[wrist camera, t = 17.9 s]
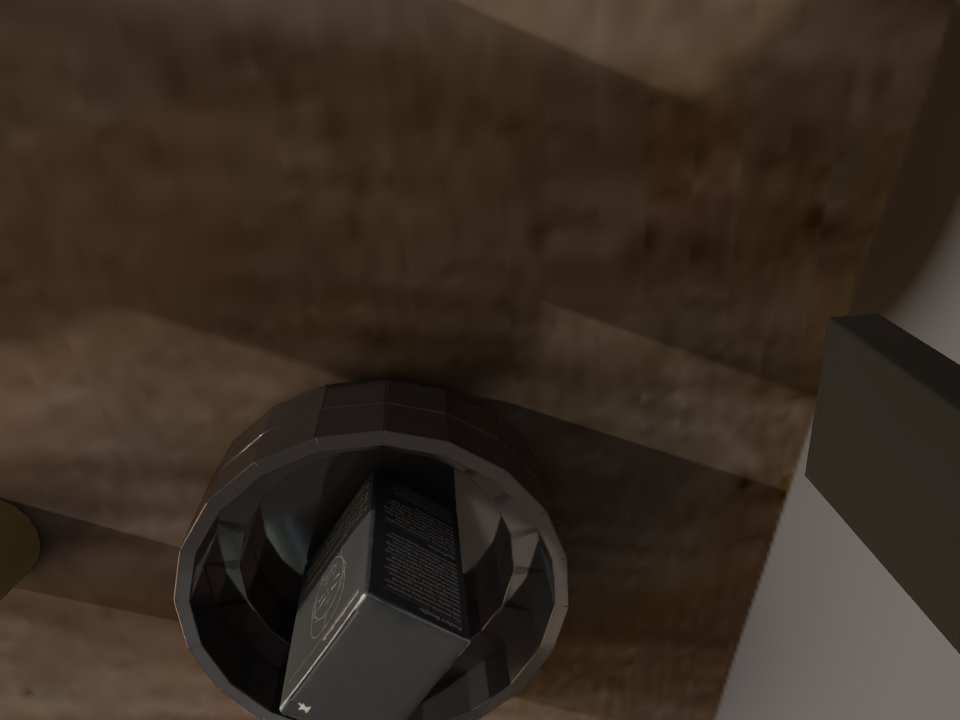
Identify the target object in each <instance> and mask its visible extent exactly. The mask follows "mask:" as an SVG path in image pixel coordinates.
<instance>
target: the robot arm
mask: <svg viewBox="0 0 960 720" xmlns="http://www.w3.org/2000/svg"><path fill="white" fill-rule="evenodd" d="M805 476H806V477H807V478H808V479H809V480H810V482H811V483H812V484H813V485H814V486H815V487H816V488H817V490H818V491H819V492H820V493H821V494H822V495H823V496H824V498H825V499H826V500H827V501H828V502H829V503H830V505H831V506H832V507H833V508H834V509H835V510H836V512H837V513H838V514H839V515H840V516H841V517H842V518H843V520H844V521H845V522H846V523H847V524H848V525H849V526H850V528H851V529H852V530H853V531H854V532H855V533H856V535H857V536H858V537H859V538H860V539H861V540H862V541H863V543H864V544H865V545H866V546H867V547H868V548H869V549H870V551H871V552H872V553H873V554H874V555H875V556H876V558H877V559H878V560H879V561H880V562H881V564H882V565H883V566H884V567H885V568H886V569H887V570H888V572H889V573H890V574H891V575H892V576H893V577H894V578H895V580H896V581H897V582H898V583H899V584H900V585H901V587H902V588H903V589H904V590H905V591H906V592H907V593H908V595H909V596H910V597H911V598H912V599H913V600H914V602H915V603H916V604H917V605H918V606H919V607H920V609H922V611H923V612H924V613H925V614H926V615H927V617H928V618H929V619H930V620H931V621H932V622H933V624H934V625H935V626H936V627H937V628H938V629H939V630H940V632H941V633H942V634H943V635H944V636H945V637H946V638H947V640H948V641H949V642H950V643H951V644H952V645H953V647H954V648H955V649H956V650H957V651H958V652H959V654H960V365H959V364H957V363H956V362H954V361H952V360H951V359H949V358H947V357H946V356H944V355H943V354H941V353H940V352H938V351H937V350H935V349H933V348H932V347H930V346H929V345H927V344H925V343H924V342H922V341H921V340H919V339H917V338H916V337H914V336H913V335H911V334H910V333H908V332H906V331H905V330H903V329H902V328H900V327H898V326H897V325H895V324H893V323H892V322H890V321H889V320H887V319H886V318H884V317H883V316H881V315H879V314H874V315H873V314H872V315H860V316H844V317H830V318H829V321H828V328H827V335H826V341H825V348H824V354H823V361H822V367H821V374H820V380H819V387H818V393H817V400H816V407H815V413H814V420H813V426H812V433H811V439H810V447H809V453H808V459H807V465H806V472H805Z"/></svg>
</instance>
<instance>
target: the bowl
mask: <svg viewBox="0 0 960 720" xmlns="http://www.w3.org/2000/svg"><path fill="white" fill-rule="evenodd" d="M374 469H378V470H381V471H382V472H384V473H386V474H388V475H390V476H392V477H394V478H396V479H398V480H400V481H402V482H403V483H405V484H407V485H409V486H411V487H413V488H415V489H417V490H418V491H420V492H422V493H424V494H426V495H428V496H430V497H432V498H434V499H436V500H438V501H440V502H442V503H444V504H445V505H447V506H449V507H451V508H453V509H454V510H456V511H457V519H458V528H459V538H460V546H461V558H462V569H463V579H464V588H465V599H466V608H467V618H468V629H469V635H470V644H469V645H468V646H467V647H466V648H465V650H464V651H463V652H462V653H461V654H460V655H459V657H458V658H457V659H456V660H455V661H454V663H453V664H452V665H451V666H450V668H449V669H448V670H447V671H446V672H445V674H444V675H443V676H442V677H441V678H440V680H439V681H438V682H437V683H436V684H435V686H434V687H433V688H432V689H431V691H430V692H429V693H428V694H427V696H426V697H425V698H424V699H423V700H422V701H421V703H420V704H419V705H418V706H417V708H416V709H415V710H414V711H413V712H412V714H411V715H410V716H409V717H408V719H407V720H479V719H480V718H482V717H483V716H485V715H486V714H488V713H489V712H491V711H492V710H494V709H495V708H497V707H498V706H500V705H501V704H502V703H504V702H505V701H507V700H508V699H510V698H511V697H513V696H514V695H516V694H517V693H519V692H520V691H521V690H522V689H523V688H524V687H525V685H526V684H527V683H528V682H529V681H530V679H531V678H532V677H533V676H534V674H535V673H536V672H537V671H538V670H539V668H540V667H541V666H542V665H543V663H544V662H545V661H546V660H547V658H548V657H549V656H550V655H551V654H552V652H553V650H554V647H555V645H556V642H557V639H558V636H559V634H560V631H561V628H562V625H563V623H564V620H565V617H566V614H567V611H568V609H569V575H568V557H567V553H566V549H565V546H564V542H563V539H562V535H561V532H560V528H559V525H558V521H557V518H556V514H555V511H554V507H553V504H552V500H551V497H550V494H549V492H548V489H547V487H546V485H545V483H544V480H543V478H542V476H541V473H540V471H539V469H538V467H537V464H536V462H535V460H534V458H533V455H532V453H531V452H530V451H529V449H528V448H527V447H526V446H525V445H524V444H523V443H522V442H521V441H520V440H519V439H518V438H517V437H516V436H515V435H514V434H513V433H512V432H511V431H510V430H509V429H508V428H507V427H506V426H505V425H504V424H503V423H502V422H501V421H500V420H499V418H498V417H497V416H494V415H493V414H491V413H490V412H488V411H486V410H484V409H482V408H480V407H478V406H476V405H474V404H472V403H470V402H468V401H467V400H465V399H463V398H461V397H459V396H457V395H455V394H453V393H451V392H449V391H447V390H445V389H442V388H436V387H431V386H426V385H420V384H415V383H410V382H404V381H399V380H394V379H379V380H369V381H359V382H348V383H338V384H329V385H328V384H327V385H325V386H322V387H320V388H317V389H315V390H313V391H310V392H308V393H305V394H303V395H300V396H298V397H295V398H293V399H291V400H288V401H286V402H283V403H281V404H278V405H276V406H274V407H273V408H271V409H270V410H269V411H268V412H267V413H266V414H264V415H263V416H262V417H261V418H260V419H259V420H257V421H256V422H255V423H254V424H253V425H251V426H250V427H249V428H248V429H247V430H246V431H244V432H243V433H242V434H241V435H240V436H239V437H237V438H236V439H235V440H234V441H233V442H232V443H231V445H230V447H229V449H228V451H227V452H226V454H225V456H224V458H223V459H222V461H221V463H220V465H219V466H218V468H217V470H216V472H215V474H214V475H213V477H212V479H211V481H210V482H209V484H208V486H207V489H206V491H205V493H204V495H203V498H202V500H201V502H200V504H199V506H198V509H197V511H196V513H195V516H194V518H193V520H192V522H191V524H190V527H189V529H188V531H187V533H186V536H185V538H184V540H183V542H182V545H181V547H180V550H179V556H178V565H177V573H176V582H175V590H174V604H175V607H176V611H177V614H178V617H179V621H180V624H181V628H182V631H183V634H184V638H185V641H186V645H187V648H188V650H189V651H190V653H191V654H192V655H193V657H194V658H195V659H196V660H197V662H198V663H199V664H200V666H201V667H202V668H203V670H204V671H205V672H206V674H207V675H208V676H209V678H210V679H211V680H212V681H213V683H214V684H215V685H216V687H217V688H218V689H219V690H220V691H222V692H223V693H224V694H226V695H227V696H229V697H230V698H232V699H233V700H234V701H236V702H237V703H239V704H240V705H242V706H243V707H244V708H246V709H247V710H249V711H250V712H252V713H253V714H255V715H256V716H257V717H259V718H260V719H262V720H299V719H296V718H293V717H290V716H287V715H284V714H282V713H281V711H280V709H279V708H280V704H281V698H282V691H283V686H284V680H285V675H286V670H287V663H288V658H289V652H290V647H291V641H292V636H293V630H294V624H295V619H296V614H297V609H298V603H299V597H300V591H301V585H302V581H303V575H304V568H305V565H306V564H307V562H308V561H309V559H310V558H311V556H312V555H313V553H314V552H315V551H316V549H317V548H318V546H319V545H320V544H321V542H322V541H323V539H324V538H325V537H326V535H327V534H328V532H329V531H330V529H331V528H332V527H333V525H334V524H335V522H336V521H337V520H338V518H339V517H340V515H341V514H342V513H343V511H344V510H345V508H346V507H347V506H348V504H349V503H350V501H351V500H352V498H353V497H354V496H355V494H356V493H357V492H358V490H359V489H360V487H361V486H362V485H363V483H364V482H365V480H366V479H367V478H368V476H369V475H370V473H371V472H372V471H373V470H374Z"/></svg>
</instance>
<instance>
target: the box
mask: <svg viewBox="0 0 960 720" xmlns="http://www.w3.org/2000/svg"><path fill="white" fill-rule="evenodd" d="M469 644H470V635H469V629H468V618H467V608H466V599H465V588H464V579H463V569H462V558H461V546H460V538H459V528H458V519H457V511H456V510H454V509H453V508H451V507H449V506H447V505H445V504H444V503H442V502H440V501H438V500H436V499H434V498H432V497H430V496H428V495H426V494H424V493H422V492H420V491H418V490H417V489H415V488H413V487H411V486H409V485H407V484H405V483H403V482H402V481H400V480H398V479H396V478H394V477H392V476H390V475H388V474H386V473H384V472H382V471H381V470H378V469H374V470H373V471H372V472H371V473H370V475H369V476H368V478H367V479H366V480H365V482H364V483H363V485H362V486H361V487H360V489H359V490H358V492H357V493H356V494H355V496H354V497H353V498H352V500H351V501H350V503H349V504H348V506H347V507H346V508H345V510H344V511H343V513H342V514H341V515H340V517H339V518H338V520H337V521H336V522H335V524H334V525H333V527H332V528H331V529H330V531H329V532H328V534H327V535H326V537H325V538H324V539H323V541H322V542H321V544H320V545H319V546H318V548H317V549H316V551H315V552H314V553H313V555H312V556H311V558H310V559H309V561H308V562H307V564H306V565H305V568H304V575H303V581H302V585H301V591H300V597H299V603H298V609H297V614H296V619H295V624H294V630H293V636H292V641H291V647H290V652H289V658H288V663H287V670H286V675H285V680H284V686H283V691H282V698H281V704H280V708H279V709H280V711H281V713H282V714H284V715H287V716H290V717H293V718H296V719H299V720H407V719H408V717H409V716H410V715H411V714H412V712H413V711H414V710H415V709H416V708H417V706H418V705H419V704H420V703H421V701H422V700H423V699H424V698H425V697H426V696H427V694H428V693H429V692H430V691H431V689H432V688H433V687H434V686H435V684H436V683H437V682H438V681H439V680H440V678H441V677H442V676H443V675H444V674H445V672H446V671H447V670H448V669H449V668H450V666H451V665H452V664H453V663H454V661H455V660H456V659H457V658H458V657H459V655H460V654H461V653H462V652H463V651H464V650H465V648H466V647H467V646H468V645H469Z"/></svg>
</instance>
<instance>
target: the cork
mask: <svg viewBox="0 0 960 720" xmlns="http://www.w3.org/2000/svg"><path fill="white" fill-rule="evenodd" d="M40 546H41V543H40V539H39V536H38V532H37V529H36V528H35V527H34V525H33V524H32V522H31V521H30V519H29V518H28V517H27V516H26V515H25V514H24V513H22V512H21V511H20V510H19V509H18V508H16V507H15V506H14V505H12V504H10V503H7V502H5V501H3V500H1V499H0V600H1V599H2V598H3V597H4V596H5V595H6V594H7V593H8V592H9V591H10V590H11V589H12V588H13V587H14V586H15V585H16V584H17V583H18V582H19V581H20V580H21V579H22V578H23V577H24V576H25V575H26V574H27V573H28V572H29V571H30V570H31V569H32V568H33V566H34V564H35V563H36V561H37V560H38V558H39V553H40Z"/></svg>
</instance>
